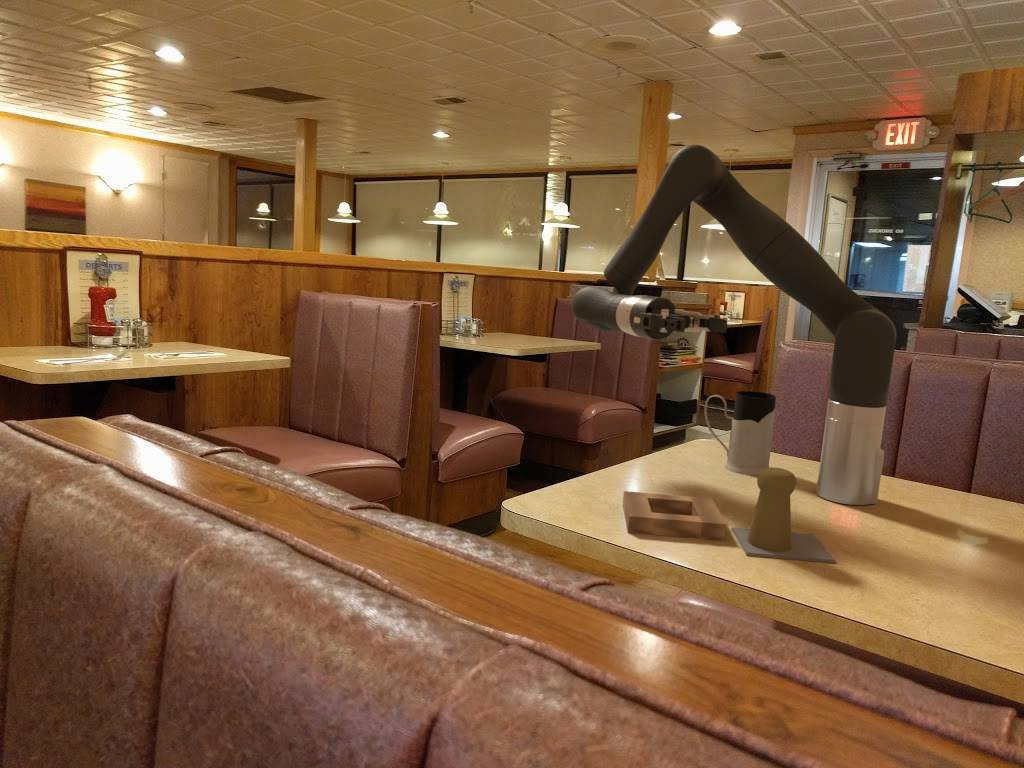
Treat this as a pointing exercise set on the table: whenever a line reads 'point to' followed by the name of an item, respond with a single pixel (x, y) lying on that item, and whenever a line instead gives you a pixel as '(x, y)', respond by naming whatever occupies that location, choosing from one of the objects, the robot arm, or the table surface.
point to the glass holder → (749, 431)
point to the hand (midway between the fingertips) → (704, 325)
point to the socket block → (673, 516)
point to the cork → (773, 510)
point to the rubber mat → (800, 549)
